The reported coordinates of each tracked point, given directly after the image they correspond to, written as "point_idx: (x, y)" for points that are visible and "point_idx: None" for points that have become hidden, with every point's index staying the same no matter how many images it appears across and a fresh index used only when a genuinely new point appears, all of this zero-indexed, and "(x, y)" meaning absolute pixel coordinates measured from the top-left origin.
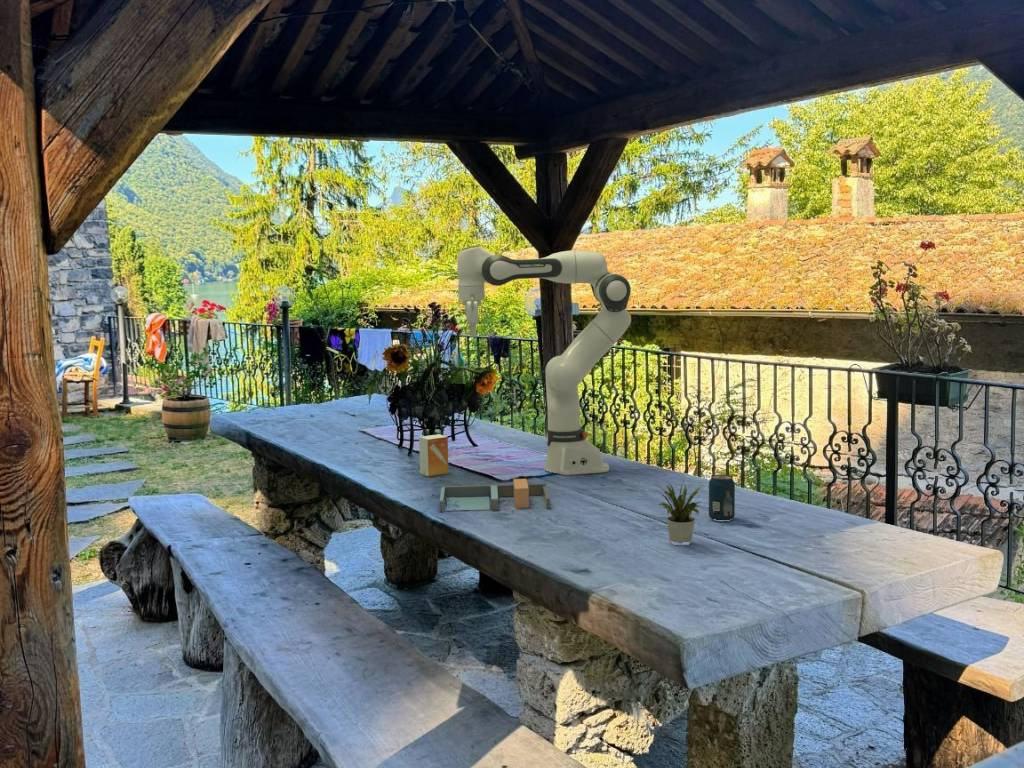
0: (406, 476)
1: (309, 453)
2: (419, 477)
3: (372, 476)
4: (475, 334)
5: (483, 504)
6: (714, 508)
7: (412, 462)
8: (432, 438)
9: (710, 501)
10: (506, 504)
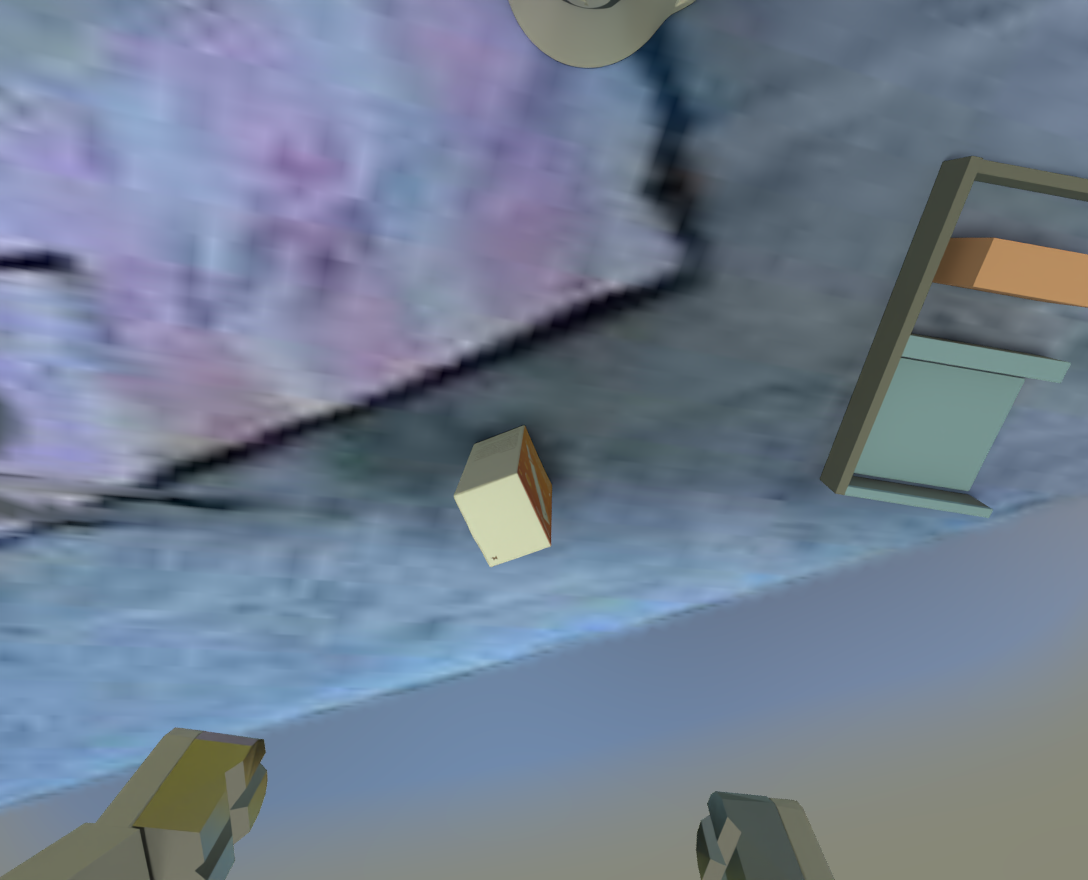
0: None
1: None
2: None
3: (500, 617)
4: (816, 845)
5: (965, 387)
6: None
7: (335, 507)
8: (538, 528)
9: None
10: (989, 319)
